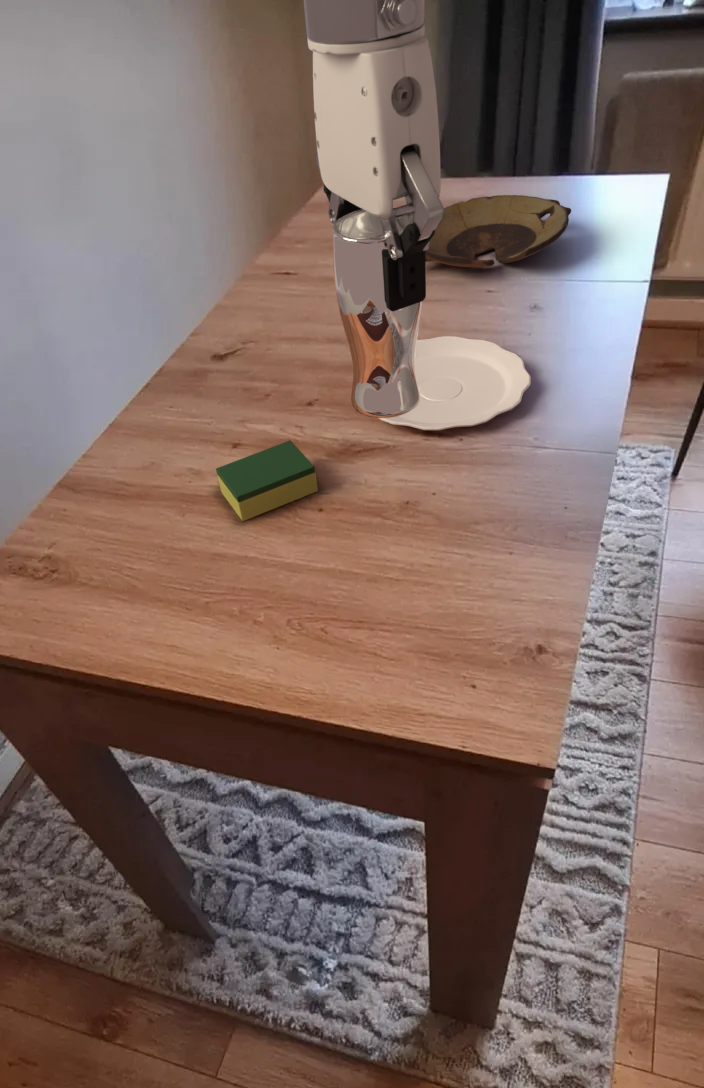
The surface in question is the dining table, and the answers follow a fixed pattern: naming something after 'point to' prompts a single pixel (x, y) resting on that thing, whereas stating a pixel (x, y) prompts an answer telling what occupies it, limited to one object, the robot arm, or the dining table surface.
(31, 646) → the dining table surface
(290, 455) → the sponge
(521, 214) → the broken bowl
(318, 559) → the dining table surface
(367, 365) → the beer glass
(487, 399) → the plate
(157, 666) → the dining table surface
